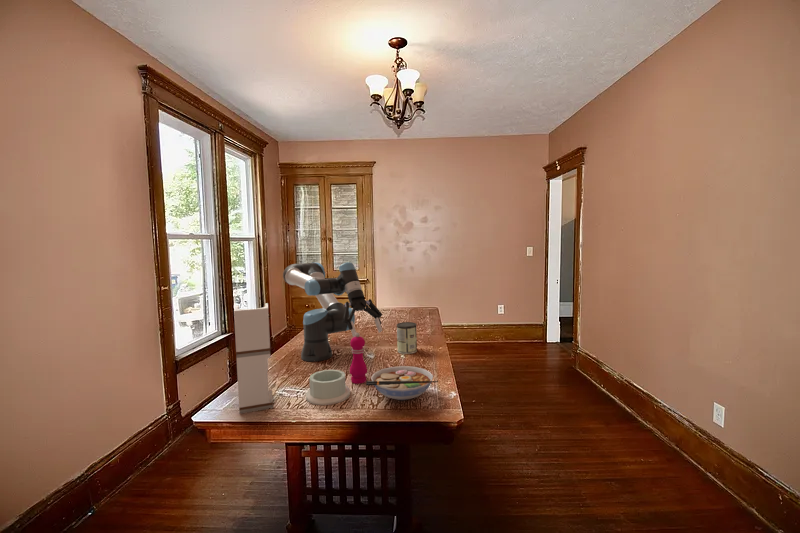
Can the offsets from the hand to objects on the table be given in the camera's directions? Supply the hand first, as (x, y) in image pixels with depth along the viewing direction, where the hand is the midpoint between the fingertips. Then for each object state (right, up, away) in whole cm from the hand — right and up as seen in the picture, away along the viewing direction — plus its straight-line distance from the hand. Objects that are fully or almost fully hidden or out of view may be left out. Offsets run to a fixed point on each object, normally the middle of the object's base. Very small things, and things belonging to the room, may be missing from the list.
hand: (368, 333), depth 166 cm
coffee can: (+18, -13, +22) cm, 32 cm away
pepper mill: (-2, -16, -17) cm, 24 cm away
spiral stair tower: (-37, -19, -36) cm, 55 cm away
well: (-12, -17, -30) cm, 37 cm away
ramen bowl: (+15, -17, -32) cm, 40 cm away
